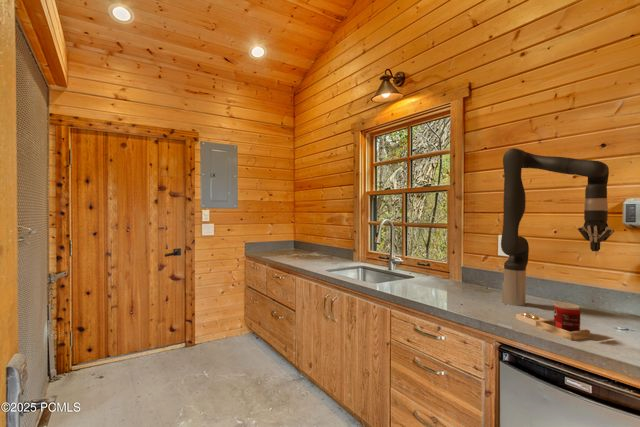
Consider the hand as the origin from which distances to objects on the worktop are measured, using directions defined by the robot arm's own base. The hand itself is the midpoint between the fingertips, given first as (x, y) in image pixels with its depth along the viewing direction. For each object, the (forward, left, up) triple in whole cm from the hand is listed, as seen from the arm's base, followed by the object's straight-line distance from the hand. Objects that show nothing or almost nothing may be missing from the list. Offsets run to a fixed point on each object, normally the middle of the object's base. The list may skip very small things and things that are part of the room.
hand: (595, 251), depth 138 cm
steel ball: (-7, -28, -28) cm, 41 cm away
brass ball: (-4, -28, -28) cm, 40 cm away
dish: (-5, -28, -29) cm, 41 cm away
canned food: (+8, -27, -29) cm, 40 cm away
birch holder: (+7, -27, -29) cm, 40 cm away
